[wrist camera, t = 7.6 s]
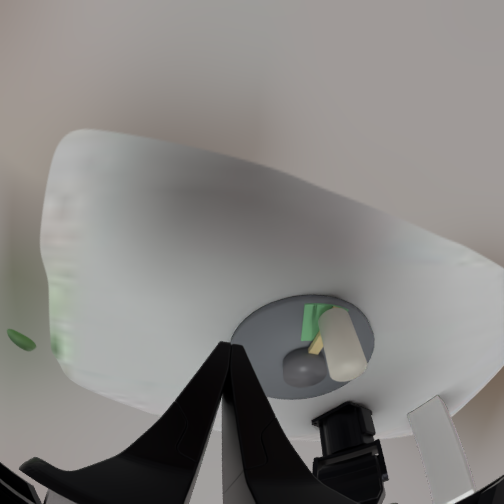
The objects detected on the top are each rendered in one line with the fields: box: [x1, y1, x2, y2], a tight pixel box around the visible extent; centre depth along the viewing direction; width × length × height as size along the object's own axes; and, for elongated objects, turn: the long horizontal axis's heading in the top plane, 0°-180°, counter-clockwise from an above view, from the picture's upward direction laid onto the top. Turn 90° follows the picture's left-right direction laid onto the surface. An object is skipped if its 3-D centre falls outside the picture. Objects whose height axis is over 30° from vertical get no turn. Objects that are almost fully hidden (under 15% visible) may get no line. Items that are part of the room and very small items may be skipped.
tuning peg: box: [282, 306, 367, 388], centre depth 20 cm, size 9×4×6 cm, turn 163°
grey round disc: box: [231, 295, 374, 400], centre depth 24 cm, size 14×14×1 cm
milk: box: [407, 395, 476, 504], centre depth 22 cm, size 6×6×22 cm
